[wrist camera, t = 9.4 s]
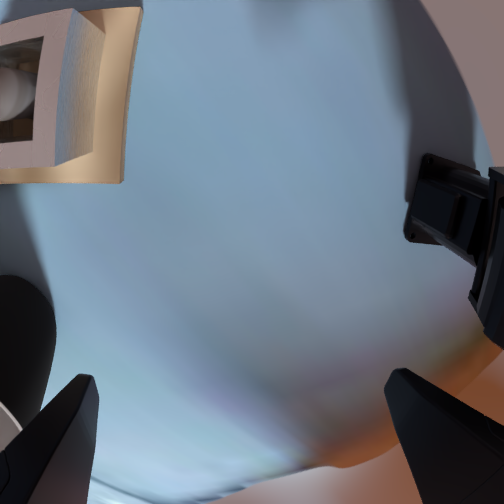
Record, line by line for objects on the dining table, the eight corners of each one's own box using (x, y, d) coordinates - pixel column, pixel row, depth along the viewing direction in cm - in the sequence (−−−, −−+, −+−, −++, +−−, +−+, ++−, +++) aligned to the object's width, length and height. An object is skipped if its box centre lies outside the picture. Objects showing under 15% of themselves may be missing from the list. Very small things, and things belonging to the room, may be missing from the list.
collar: (105, 34, 12) (73, 7, 8) (93, 151, 15) (54, 166, 10) (8, 50, 11) (-41, 39, 6) (-1, 156, 13) (-51, 173, 9)
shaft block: (143, 12, 13) (120, -31, 7) (123, 180, 17) (91, 210, 11) (1, 33, 11) (-54, 18, 5) (-11, 181, 15) (-67, 208, 9)
